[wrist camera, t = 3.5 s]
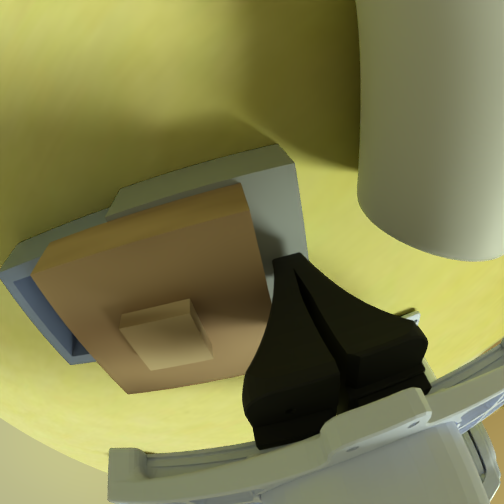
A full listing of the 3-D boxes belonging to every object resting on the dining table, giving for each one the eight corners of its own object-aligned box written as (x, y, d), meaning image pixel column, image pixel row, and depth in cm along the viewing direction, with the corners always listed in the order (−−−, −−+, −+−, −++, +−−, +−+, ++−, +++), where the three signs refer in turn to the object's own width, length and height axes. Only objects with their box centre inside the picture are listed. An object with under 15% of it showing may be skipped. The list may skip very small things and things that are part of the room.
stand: (301, 288, 20) (315, 322, 17) (182, 318, 20) (182, 355, 17) (277, 143, 14) (294, 162, 12) (120, 188, 14) (104, 217, 12)
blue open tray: (178, 311, 19) (177, 346, 17) (79, 332, 19) (70, 365, 17) (125, 201, 15) (112, 231, 12) (17, 243, 15) (-4, 273, 12)
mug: (305, -41, 7) (317, 202, 14) (532, -47, 1) (489, 297, 8) (432, 10, 13) (428, 156, 19) (550, 36, 7) (531, 201, 13)
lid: (276, 330, 17) (289, 376, 15) (131, 361, 17) (126, 406, 14) (240, 182, 12) (253, 221, 9) (49, 242, 12) (22, 287, 9)
